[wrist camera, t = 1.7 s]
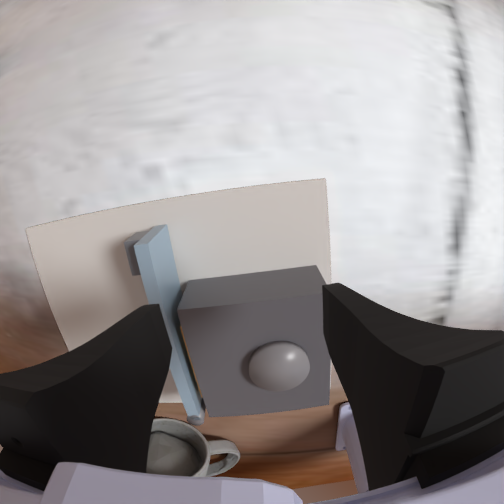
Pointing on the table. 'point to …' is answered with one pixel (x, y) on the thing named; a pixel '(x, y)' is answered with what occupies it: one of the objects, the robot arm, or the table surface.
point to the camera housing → (257, 341)
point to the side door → (166, 307)
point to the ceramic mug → (186, 451)
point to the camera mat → (176, 250)
